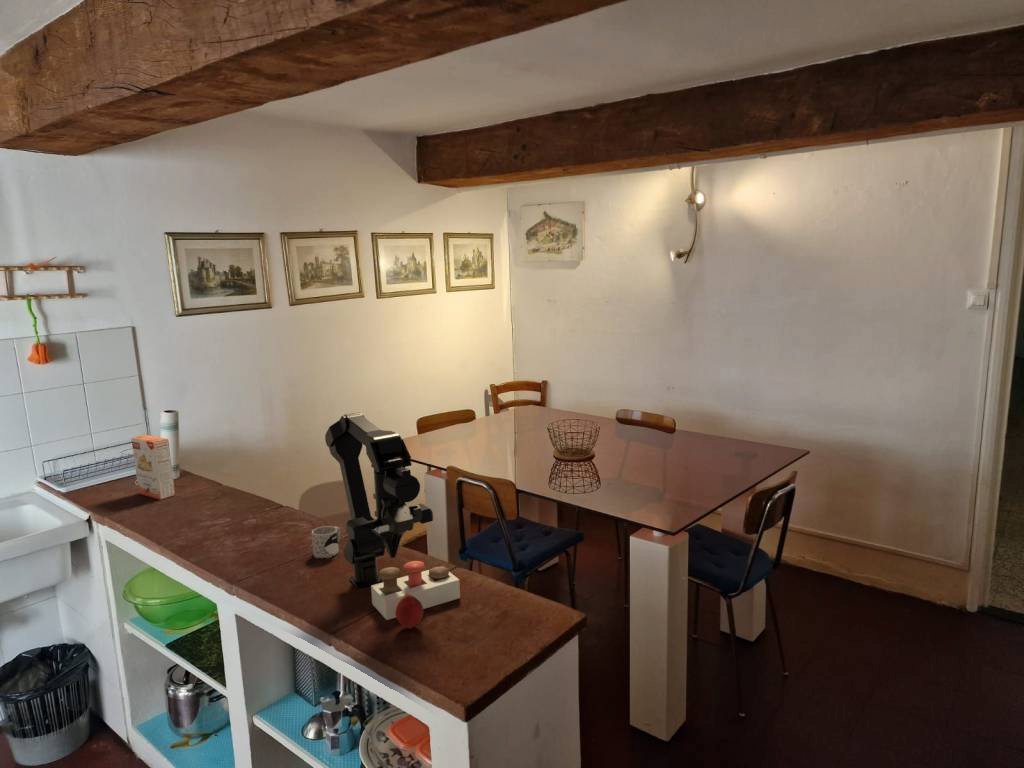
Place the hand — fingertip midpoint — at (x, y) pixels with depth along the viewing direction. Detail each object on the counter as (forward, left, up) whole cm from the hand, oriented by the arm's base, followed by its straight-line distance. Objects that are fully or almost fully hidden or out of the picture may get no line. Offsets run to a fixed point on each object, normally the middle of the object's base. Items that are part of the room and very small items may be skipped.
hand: (392, 557), depth 156 cm
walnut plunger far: (0, +11, -12) cm, 16 cm away
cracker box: (-128, -39, -12) cm, 134 cm away
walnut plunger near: (0, -1, -9) cm, 9 cm away
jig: (0, +5, -12) cm, 13 cm away
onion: (+11, -1, -12) cm, 16 cm away
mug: (-41, -3, -12) cm, 43 cm away
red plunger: (0, +5, -9) cm, 10 cm away
